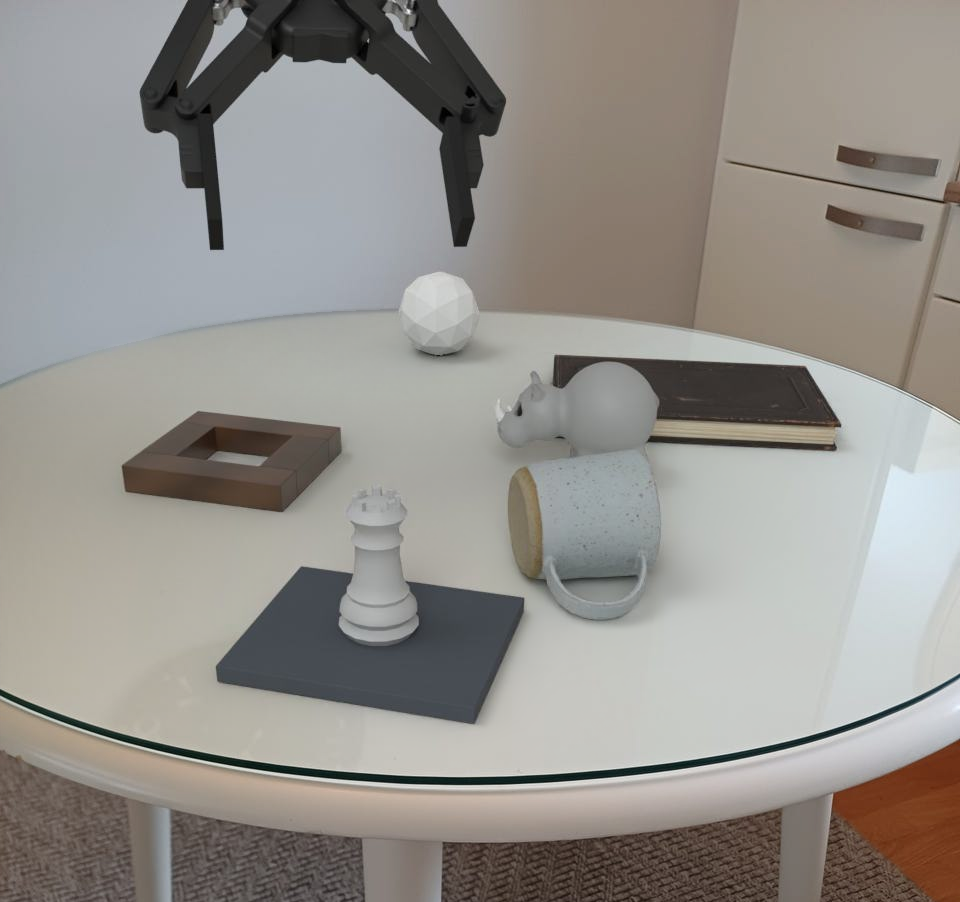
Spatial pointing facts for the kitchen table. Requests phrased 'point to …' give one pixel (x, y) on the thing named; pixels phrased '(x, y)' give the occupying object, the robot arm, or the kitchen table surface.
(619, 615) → the ceramic mug
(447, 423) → the kitchen table surface
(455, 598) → the mat
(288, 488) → the stand
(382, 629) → the rook chess piece
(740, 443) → the hardcover book
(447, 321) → the geometric ball
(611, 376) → the chubby cartoon animal
